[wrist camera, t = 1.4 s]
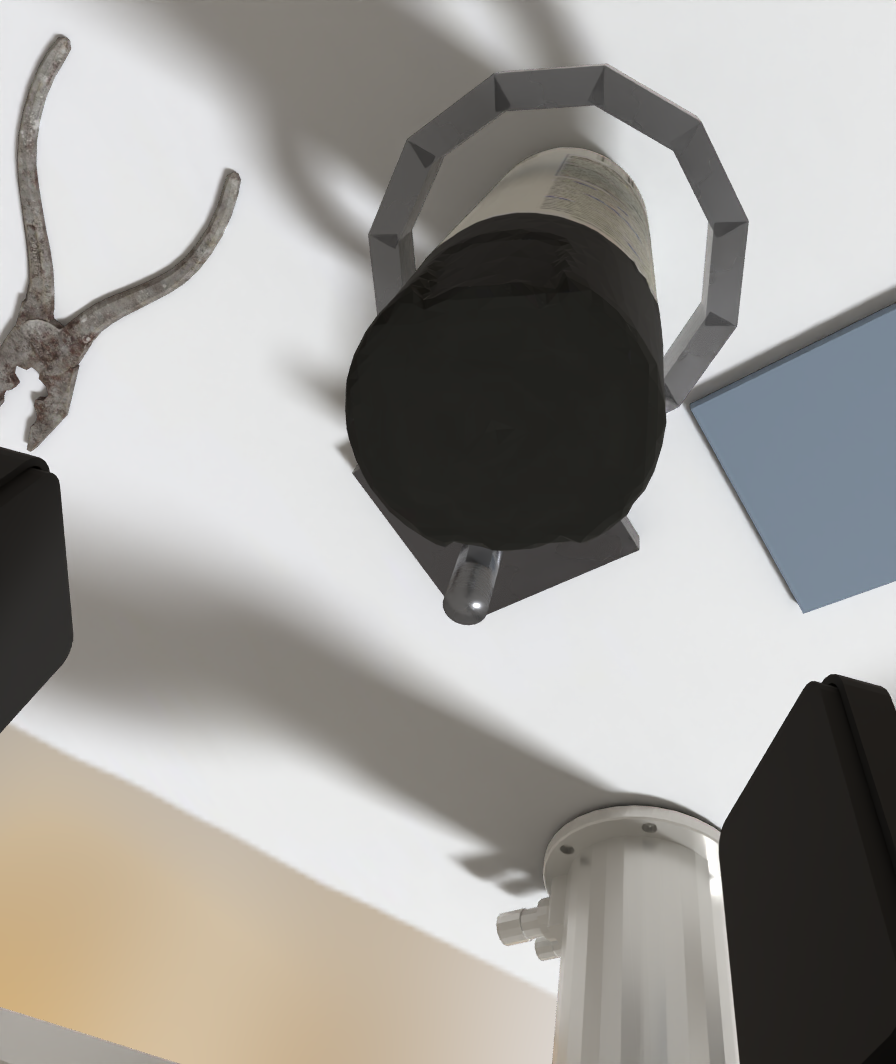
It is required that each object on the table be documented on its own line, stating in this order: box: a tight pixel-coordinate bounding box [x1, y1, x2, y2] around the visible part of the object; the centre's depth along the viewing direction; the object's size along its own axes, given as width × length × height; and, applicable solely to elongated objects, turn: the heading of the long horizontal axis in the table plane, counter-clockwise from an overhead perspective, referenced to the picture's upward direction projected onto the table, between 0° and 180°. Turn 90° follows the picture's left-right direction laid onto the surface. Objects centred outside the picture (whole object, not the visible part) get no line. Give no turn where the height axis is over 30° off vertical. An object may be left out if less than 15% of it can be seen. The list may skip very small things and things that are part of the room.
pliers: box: [0, 38, 241, 452], centre depth 39 cm, size 10×1×20 cm
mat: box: [690, 303, 896, 614], centre depth 35 cm, size 12×12×1 cm
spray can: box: [345, 147, 666, 551], centre depth 25 cm, size 7×7×20 cm
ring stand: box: [352, 64, 749, 625], centre depth 32 cm, size 20×20×9 cm
